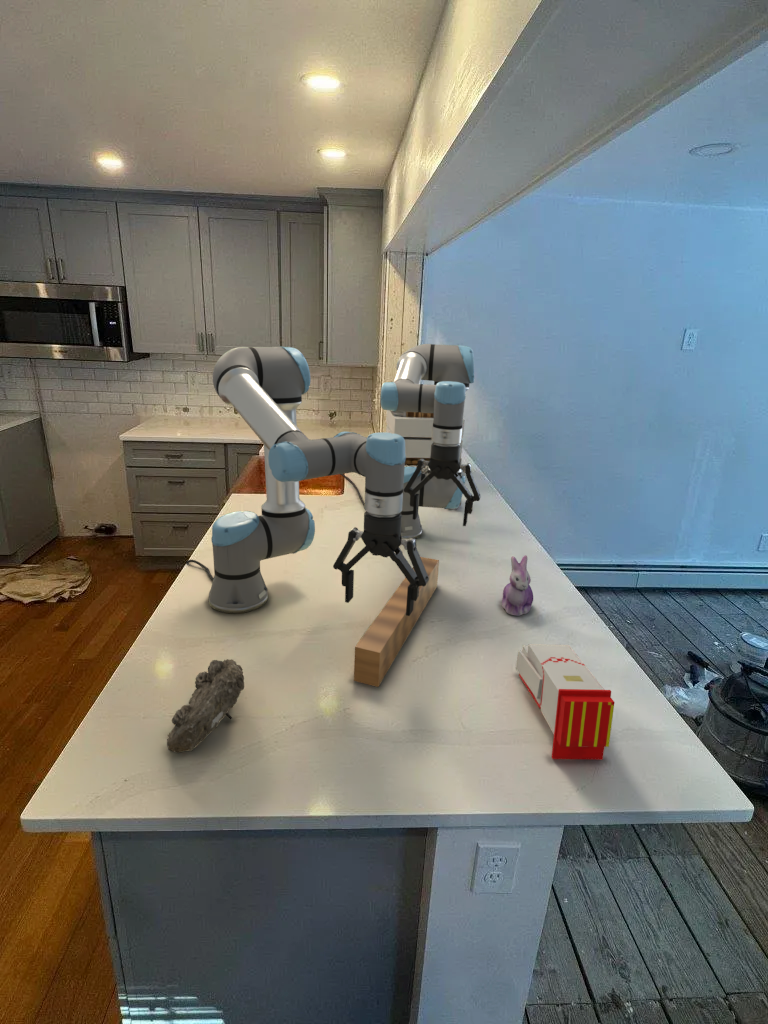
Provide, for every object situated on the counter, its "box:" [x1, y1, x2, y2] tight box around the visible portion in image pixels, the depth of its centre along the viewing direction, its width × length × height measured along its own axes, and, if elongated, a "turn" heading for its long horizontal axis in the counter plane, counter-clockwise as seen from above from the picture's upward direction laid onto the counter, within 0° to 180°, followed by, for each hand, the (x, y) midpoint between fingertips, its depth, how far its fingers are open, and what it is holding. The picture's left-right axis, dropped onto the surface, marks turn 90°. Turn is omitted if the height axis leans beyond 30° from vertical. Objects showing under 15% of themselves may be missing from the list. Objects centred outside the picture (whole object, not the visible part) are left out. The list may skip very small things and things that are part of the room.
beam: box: [353, 556, 440, 688], centre depth 140 cm, size 50×6×8 cm, turn 161°
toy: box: [515, 643, 615, 761], centre depth 113 cm, size 12×13×30 cm
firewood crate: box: [385, 410, 465, 467], centre depth 268 cm, size 34×33×41 cm
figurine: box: [501, 555, 534, 617], centre depth 150 cm, size 9×10×15 cm
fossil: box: [166, 658, 245, 754], centre depth 106 cm, size 22×10×15 cm
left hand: (378, 606), depth 120 cm, fingers open, 13 cm apart
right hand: (439, 521), depth 152 cm, fingers open, 13 cm apart
